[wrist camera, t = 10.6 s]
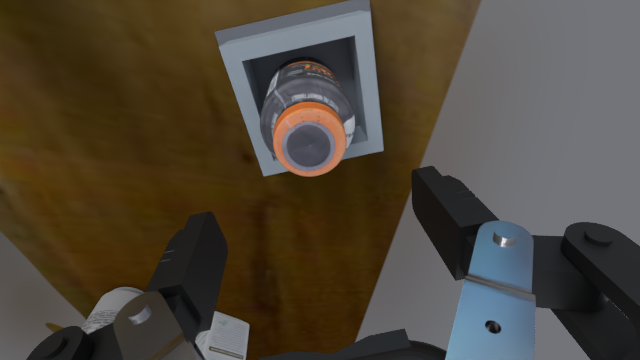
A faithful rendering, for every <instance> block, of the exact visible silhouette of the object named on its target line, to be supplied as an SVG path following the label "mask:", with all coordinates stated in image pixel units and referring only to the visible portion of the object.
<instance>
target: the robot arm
mask: <svg viewBox="0 0 640 360" xmlns="http://www.w3.org/2000/svg"><path fill="white" fill-rule="evenodd" d="M412 205H413V210H414V213H415V215H416V217H417V219H418V220H419V222H420V223H421V225H422V227H423V229H424V230H425V232H426V233H427V235H428V237H429V238H430V240H431V241H432V243H433V245H434V246H435V248H436V250H437V251H438V253H439V255H440V256H441V258H442V259H443V261H444V263H445V264H446V266H447V268H448V269H449V271H450V272H451V274H452V276H453V277H454V279H455V280H461V279H465V281H464V285H463V289H462V293H461V297H460V301H459V305H458V309H457V313H456V317H455V321H454V325H453V330H452V334H451V338H450V342H449V346H448V350H447V351H445V350H443V349H441V348H439V347H436V346H434V345H431V344H427V343H424V342H419V341H411V340H408V337H407V334H406V331H405V329H400V330H396V331H390V332H386V333H381V334H376V335H371V336H368V337H366V338H364V339H362V340H360V341H358V342H356V343H354V344H352V345H350V346H348V347H346V348H344V349H342V350H340V351H338V352H335V353H330V354H329V353H314V352H299V351H293V352H288V353H283V354H278V355H273V356H269V357H264V358H259V360H534V348H535V311H536V307H541V308H550V309H551V310H552V311H553V313H554V314H555V315H556V316H557V318H558V319H559V320H560V321H561V323H562V324H563V325H564V326H565V328H566V329H567V330H568V332H569V333H570V334H571V335H572V337H573V338H574V339H575V340H576V342H577V343H578V344H579V346H580V347H581V348H582V349H583V351H584V352H585V353H586V354H587V356H588V357H589V358H590V359H591V360H640V246H639V245H637V244H636V243H635V242H633V241H632V240H631V239H629V238H628V237H626V236H625V235H624V234H622V233H621V232H619V231H617V230H615V229H613V228H610V227H608V226H604V225H601V224H597V223H589V222H580V223H574V224H572V225H570V226H568V227H567V228H566V230H565V233H564V236H536V235H531V234H530V233H529V232H528V231H527V230H526V229H525V228H523V227H521V226H519V225H517V224H515V223H512V222H507V221H500V220H499V219H498V218H497V217H496V216H495V215H494V214H493V213H492V212H491V211H490V210H489V209H488V208H487V207H486V206H485V205H484V204H483V203H482V202H481V201H480V200H479V199H478V198H477V197H475V195H474V194H473V193H472V192H471V191H469V189H468V188H467V187H466V186H465V185H464V184H463V183H462V182H461V181H460V180H458V179H456V178H453V177H451V176H449V175H448V176H442V175H441V174H440V173H439V172H438V171H437V170H436V169H435V167H434V166H428V167H423V168H418V169H414V170H412ZM227 253H228V250H227V243H226V240H225V238H224V236H223V233H222V231H221V229H220V227H219V225H218V223H217V221H216V218H215V216H214V214H213V213H212V212H210V211H209V212H204V213H199V214H195V215H191V216H190V217H189V219H188V221H187V223H186V225H185V228H184V230H179V231H178V233H177V234H176V235H175V236H174V237H173V238H172V239H171V240H170V241H169V243H168V245H167V247H166V250H165V253H164V254H163V256H162V258H161V262H159V264H158V266H157V268H156V270H155V272H154V274H153V276H152V279H151V281H150V283H149V285H148V287H147V289H146V291H145V293H143V294H141V295H139V296H137V297H135V298H133V299H132V300H130V301H129V302H128V303H127V304H126V305H125V306H124V307H123V308H122V309H121V310H120V311H119V312H118V314H117V315H116V317H115V320H114V322H113V323H110V324H108V325H106V326H104V327H102V328H100V329H98V330H95V331H93V332H91V333H89V334H87V333H86V332H85V331H83V330H82V329H81V328H80V327H78V326H70V327H66V328H63V329H61V330H59V331H57V332H55V333H53V334H52V335H51V336H49V337H47V338H46V339H45V340H44V341H42V342H41V343H40V344H39V345H38V346H37V347H36V348H35V349H34V350H33V351H32V352H31V354H30V355H29V357H28V358H27V360H206V359H205V357H204V355H203V354H202V352H201V350H200V349H199V347H198V345H197V344H196V342H195V340H196V336H197V333H198V332H203V331H208V330H210V329H211V325H212V321H213V316H214V312H215V307H216V303H217V299H218V294H219V290H220V285H221V281H222V276H223V272H224V268H225V263H226V259H227ZM613 303H614V304H615V305H616V306H617V307H618V308H619V309H620V310H621V311H622V312H623V313H624V314H625V315H626V316H627V317H628V318H627V317H626V316H625V315H624V314H623V313H622V312H621V311H620V310H619V309H618V308H617V307H616V306H615V305H614V304H613Z"/></svg>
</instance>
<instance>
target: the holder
mask: <svg viewBox="0 0 640 360" xmlns="http://www.w3.org/2000/svg"><path fill="white" fill-rule="evenodd" d="M214 33H215V35H216V38H217V41H218V44H219V49H220V52H221V55H222V58H223V61H224V64H225V67H226V69H227V72H228V75H229V78H230V81H231V84H232V87H233V90H234V92H235V95H236V98H237V101H238V104H239V107H240V110H241V113H242V115H243V118H244V121H245V124H246V127H247V130H248V133H249V135H250V138H251V141H252V144H253V147H254V150H255V153H256V156H257V158H258V161H259V164H260V167H261V170H262V173H263V176H268V175H273V174H278V173H282V172H287V171H289V170H287V169H286V168H285V167H284V166H283V165H282V164H281V163H280V162H279V160H278V159H277V158H276V157H275V156H274V155H273V154H272V153H271V152H270V151H269V149H268V148H267V146H266V144H265V143H264V140H263V138H262V134H261V130H260V116H261V111H262V108H263V104H264V101H265V98H266V95H267V91H268V88H269V85H270V82H271V79H272V77H273V75H274V73H275V71H276V70H277V69H278V68H279V67H280V66H281V65H282V64H283V63H285V62H287V61H289V60H290V59H293V58H298V57H312V58H315V59H318V60H320V61H322V62H323V63H325V64H326V65H327V66H328V67H329V68H330V69H331V70H332V71H333V73H334V74H335V76H336V78H337V80H338V82H339V83H340V85H341V87H342V89H343V90H344V92H345V94H346V96H347V97H348V99H349V101H350V103H351V105H352V107H353V111H354V117H355V129H354V134H353V138H352V140H351V143H350V144H349V146H348V148H347V150H346V151H345V153H344V156H343V158H342V159H341V160H343V159H347V158H352V157H357V156H361V155H366V154H371V153H375V152H380V151H384V148H383V134H382V124H381V114H380V103H379V93H378V83H377V72H376V62H375V52H374V41H373V31H372V21H371V10H370V0H348V1H344V2H340V3H335V4H331V5H327V6H322V7H318V8H314V9H310V10H305V11H301V12H297V13H293V14H288V15H284V16H280V17H275V18H271V19H267V20H263V21H258V22H254V23H250V24H245V25H241V26H237V27H233V28H228V29H224V30H220V31H216V32H214Z"/></svg>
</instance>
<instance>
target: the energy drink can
mask: <svg viewBox="0 0 640 360" xmlns="http://www.w3.org/2000/svg"><path fill="white" fill-rule="evenodd" d="M143 293H144V292H143V291H141V290H139V289H136V288H132V287H120V288H116V289H114V290H112V291H111V292H108V293H106V294H104V295H103V296H102V297H101V299H100V300H99V302H98V304H97V305H96V307H95V308H94V310H93V311H92V313H91V314H90V316H89V317H88V319H87V320H86V322H85V324H84V325H83V327H82V328H81V329H82V330H83V331H85V332H86V333H87V334H89V333H91V332H93V331H95V330H98V329H100V328H102V327H104V326H106V325H108V324H110V323H113V322H114V320H115V317H116V315H117V314H118V312H119V311H120V310H121V309H122V308H123V307H124V306H125V305H126V304H127V303H128V302H129V301H130V300H132V299H133V298H135V297H137V296H139V295H141V294H143Z"/></svg>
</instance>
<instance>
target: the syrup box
mask: <svg viewBox="0 0 640 360" xmlns="http://www.w3.org/2000/svg"><path fill="white" fill-rule="evenodd" d="M249 326H250V325H249V324H248V323H246V322H244V321H242V320H239V319H237V318H234V317H231V316H228V315H226V314H223V313H220V312H217V311H215V312H214V316H213V321H212V325H211V329H210V330H208V331H203V332H198V333H197V336H196V340H195V342H196V344H197V345H198V347H199V349H200V350H201V352H202V354H203V355H204V357H205V359H206V360H246V352H247V344H248V335H249Z"/></svg>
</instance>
